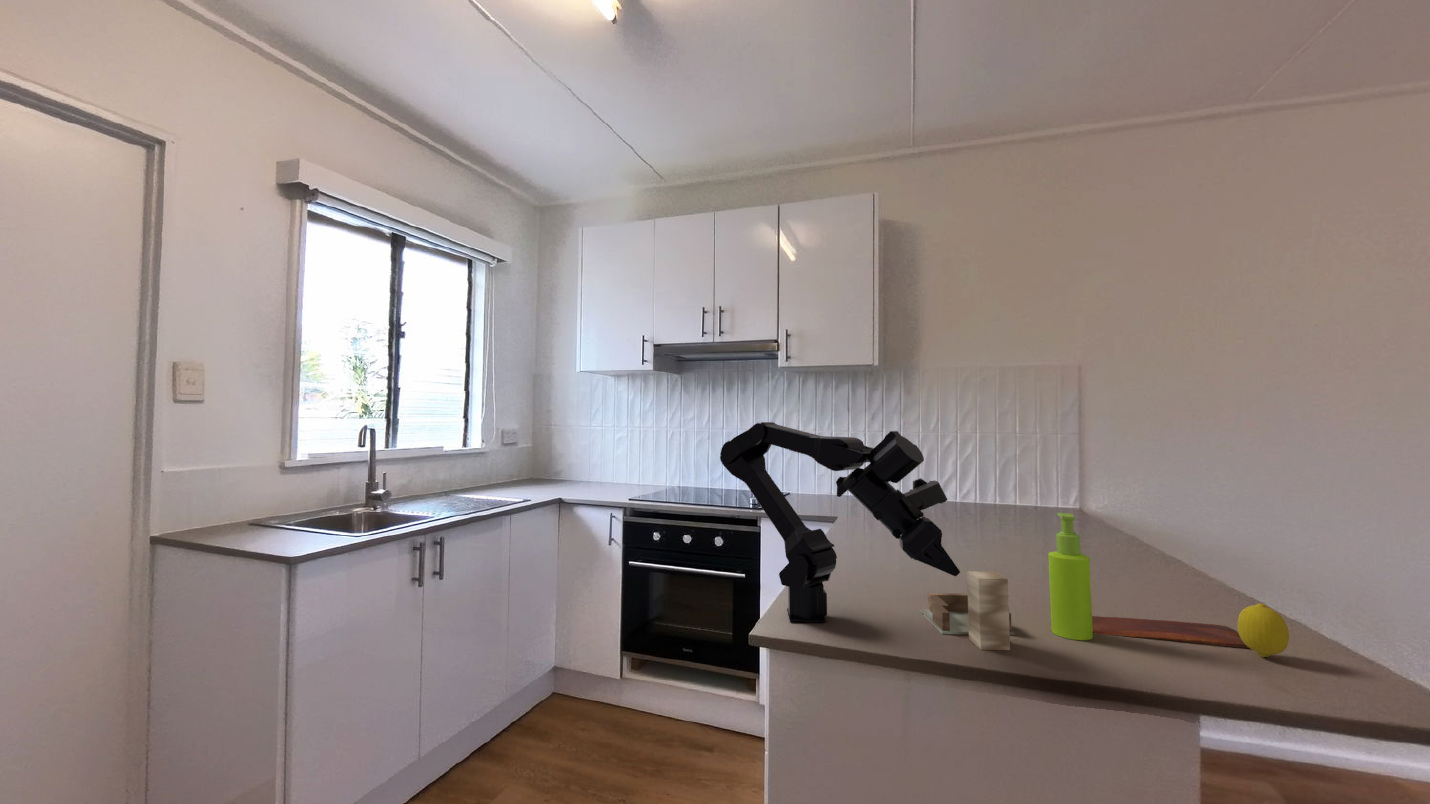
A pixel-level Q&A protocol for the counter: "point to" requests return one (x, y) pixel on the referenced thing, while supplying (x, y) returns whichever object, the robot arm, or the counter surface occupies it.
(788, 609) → the robot arm
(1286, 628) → the lemon
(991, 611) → the birch post
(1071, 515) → the soap dispenser
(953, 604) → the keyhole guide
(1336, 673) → the counter surface
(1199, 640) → the wooden tablet
